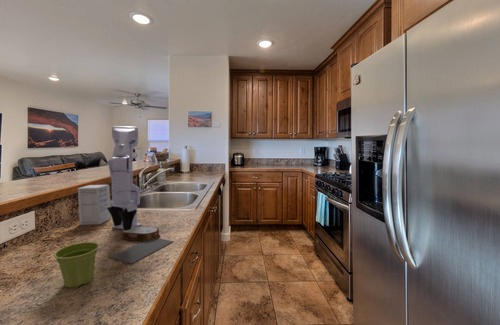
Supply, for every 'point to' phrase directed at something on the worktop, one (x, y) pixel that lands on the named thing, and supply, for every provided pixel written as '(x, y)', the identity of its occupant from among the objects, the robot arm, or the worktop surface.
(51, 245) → the worktop surface
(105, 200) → the supplement box
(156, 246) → the mat
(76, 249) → the plant pot
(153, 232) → the tin
